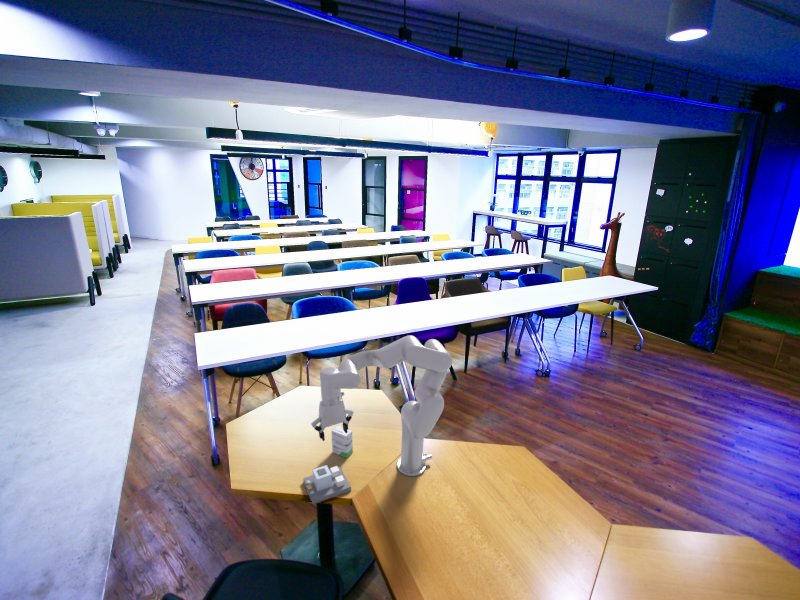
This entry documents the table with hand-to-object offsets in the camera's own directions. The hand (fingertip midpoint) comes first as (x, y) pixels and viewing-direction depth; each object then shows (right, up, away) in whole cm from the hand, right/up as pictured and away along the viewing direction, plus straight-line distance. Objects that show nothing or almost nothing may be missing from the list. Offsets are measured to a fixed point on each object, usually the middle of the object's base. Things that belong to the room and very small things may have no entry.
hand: (334, 435), depth 166 cm
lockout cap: (-5, -21, +2) cm, 21 cm away
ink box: (0, -16, +24) cm, 28 cm away
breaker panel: (-3, -22, +3) cm, 23 cm away
